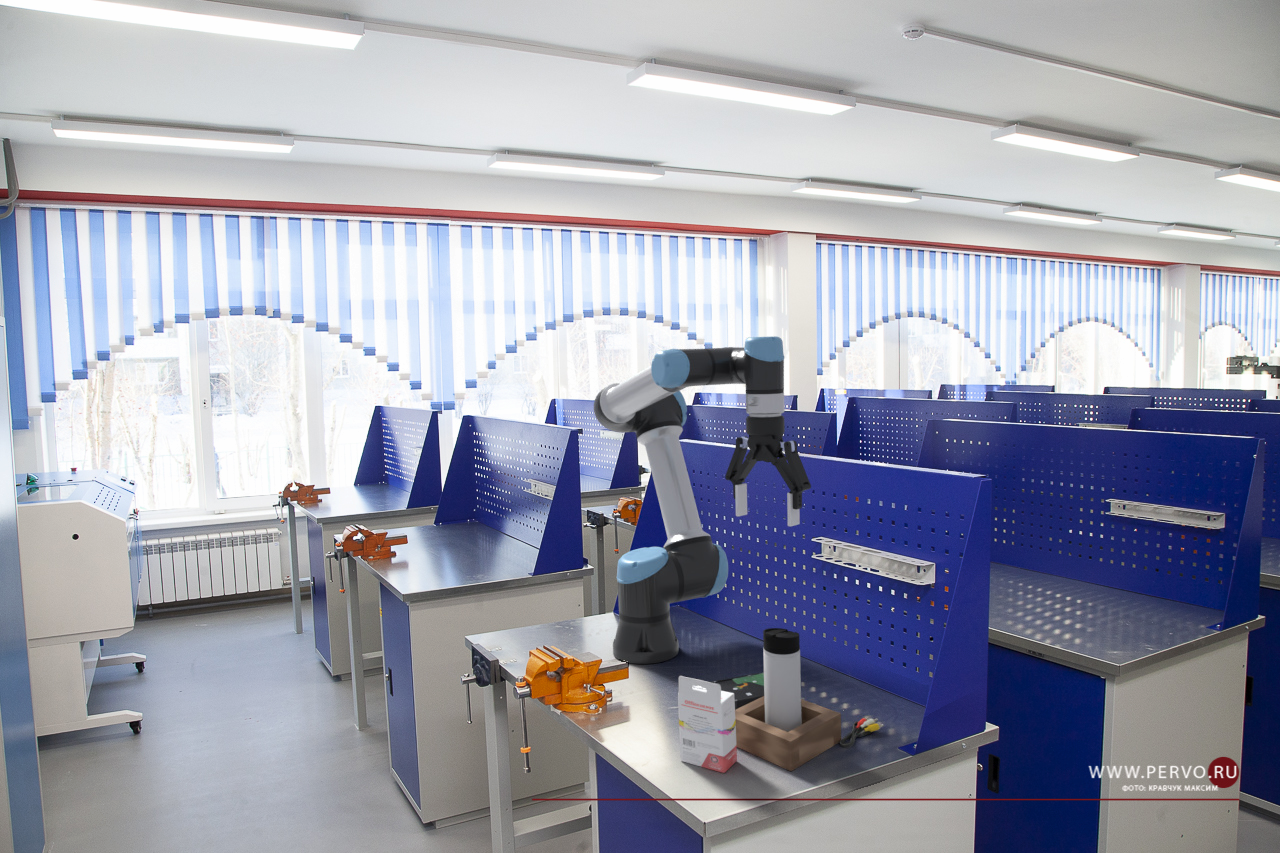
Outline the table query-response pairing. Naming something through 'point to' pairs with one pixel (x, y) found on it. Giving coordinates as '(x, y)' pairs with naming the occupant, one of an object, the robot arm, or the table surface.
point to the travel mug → (782, 678)
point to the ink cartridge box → (706, 725)
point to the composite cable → (860, 731)
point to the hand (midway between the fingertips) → (766, 520)
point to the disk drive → (743, 688)
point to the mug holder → (787, 734)
